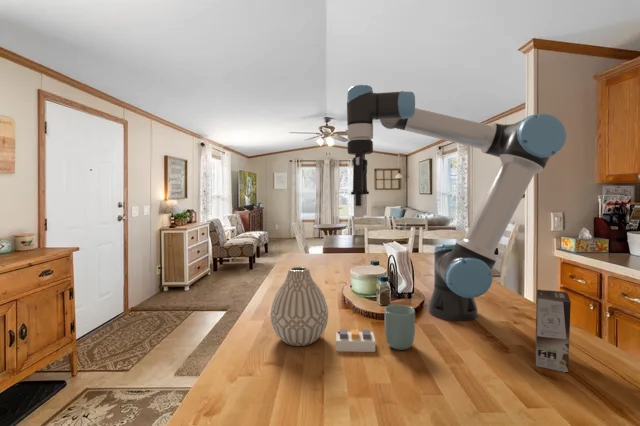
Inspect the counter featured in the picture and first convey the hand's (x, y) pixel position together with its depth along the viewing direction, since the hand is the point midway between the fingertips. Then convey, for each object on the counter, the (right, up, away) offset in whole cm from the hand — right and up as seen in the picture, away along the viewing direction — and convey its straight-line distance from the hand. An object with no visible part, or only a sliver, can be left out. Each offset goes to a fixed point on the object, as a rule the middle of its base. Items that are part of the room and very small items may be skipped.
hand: (360, 216), depth 104 cm
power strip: (-3, -35, -13) cm, 37 cm away
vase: (-18, -34, -8) cm, 40 cm away
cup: (+9, -34, -13) cm, 38 cm away
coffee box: (+43, -34, -22) cm, 59 cm away
